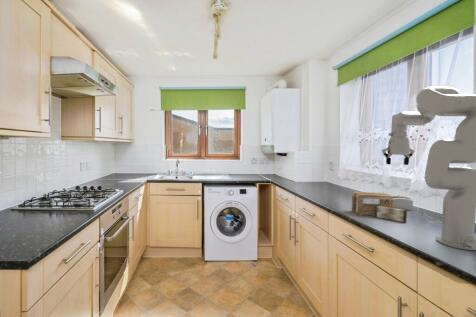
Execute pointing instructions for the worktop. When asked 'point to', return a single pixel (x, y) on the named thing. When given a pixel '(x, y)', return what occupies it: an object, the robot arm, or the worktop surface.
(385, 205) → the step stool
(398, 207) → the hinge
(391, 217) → the mottled brown block
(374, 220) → the worktop surface
